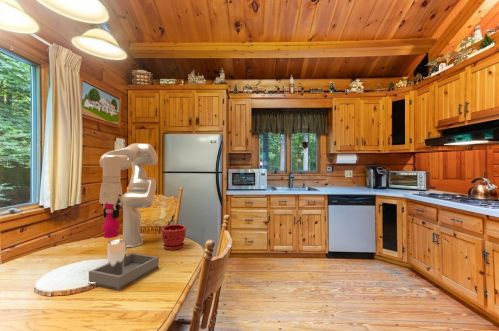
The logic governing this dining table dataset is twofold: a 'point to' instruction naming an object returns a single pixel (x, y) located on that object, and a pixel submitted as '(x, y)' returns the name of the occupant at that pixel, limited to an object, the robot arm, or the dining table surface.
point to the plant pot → (173, 236)
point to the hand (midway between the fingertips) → (111, 216)
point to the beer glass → (116, 256)
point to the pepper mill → (110, 223)
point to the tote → (133, 271)
